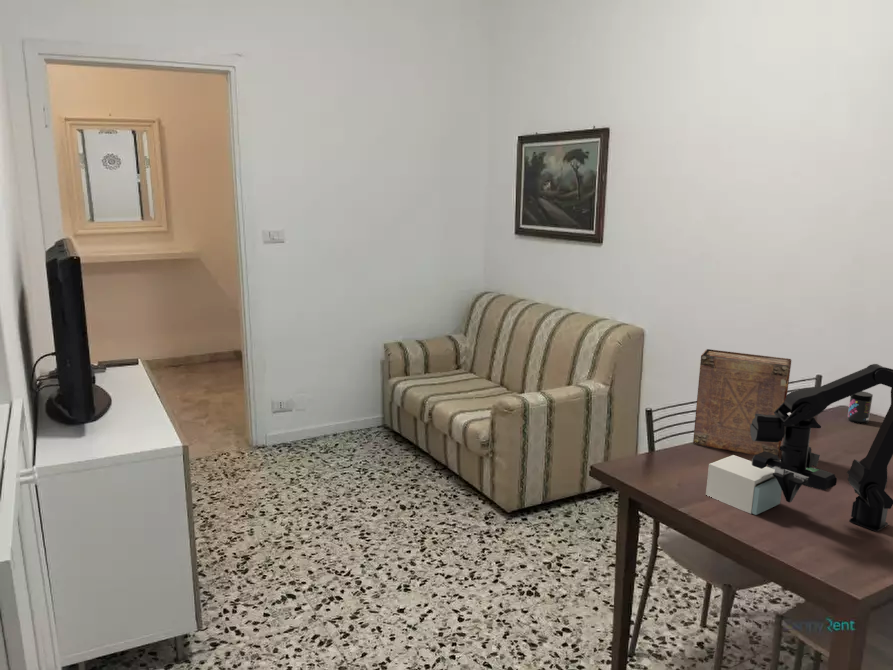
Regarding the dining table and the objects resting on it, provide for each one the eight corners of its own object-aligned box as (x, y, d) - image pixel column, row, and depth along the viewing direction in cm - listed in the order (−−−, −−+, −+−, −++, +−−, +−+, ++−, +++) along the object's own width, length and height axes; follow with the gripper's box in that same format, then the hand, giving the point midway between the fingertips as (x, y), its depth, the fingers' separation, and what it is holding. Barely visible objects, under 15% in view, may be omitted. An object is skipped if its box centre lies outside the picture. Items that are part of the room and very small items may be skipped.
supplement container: (850, 416, 250) (854, 389, 248) (870, 421, 246) (875, 393, 243) (844, 420, 246) (848, 393, 244) (865, 425, 241) (869, 397, 239)
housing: (774, 502, 180) (778, 470, 178) (750, 513, 173) (754, 481, 171) (729, 485, 190) (733, 454, 188) (705, 495, 184) (708, 463, 182)
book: (780, 450, 216) (792, 359, 210) (778, 460, 209) (790, 365, 202) (697, 435, 229) (706, 348, 222) (692, 444, 221) (701, 354, 214)
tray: (780, 503, 179) (783, 478, 177) (756, 514, 172) (759, 488, 171) (733, 485, 189) (736, 461, 188) (709, 495, 183) (712, 470, 181)
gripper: (851, 447, 165) (843, 507, 168) (777, 426, 180) (771, 481, 183) (828, 457, 158) (820, 519, 162) (753, 434, 173) (747, 491, 177)
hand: (789, 501), depth 171 cm, fingers closed
